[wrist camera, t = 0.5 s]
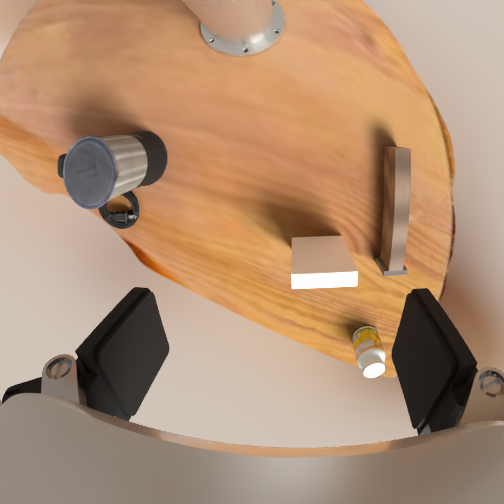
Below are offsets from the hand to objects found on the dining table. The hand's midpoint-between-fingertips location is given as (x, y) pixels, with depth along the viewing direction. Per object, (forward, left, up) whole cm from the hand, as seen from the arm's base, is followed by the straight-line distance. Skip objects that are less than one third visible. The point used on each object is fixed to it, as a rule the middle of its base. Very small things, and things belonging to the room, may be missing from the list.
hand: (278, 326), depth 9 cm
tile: (+10, +4, -33) cm, 35 cm away
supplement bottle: (+30, +14, -33) cm, 47 cm away
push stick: (+4, +16, -33) cm, 37 cm away
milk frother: (-3, -25, -33) cm, 42 cm away
